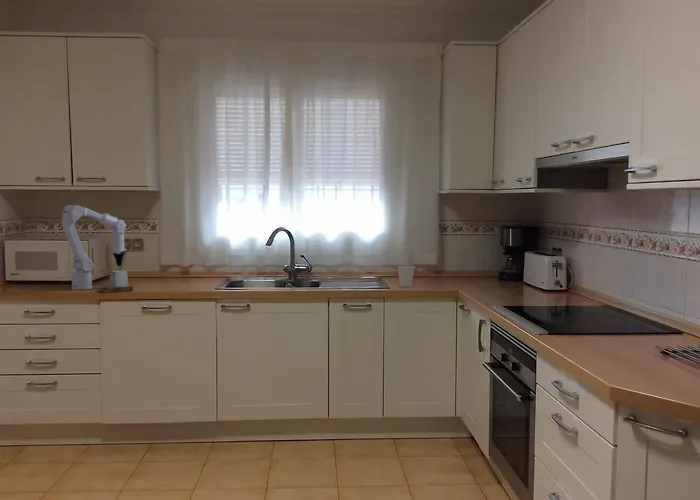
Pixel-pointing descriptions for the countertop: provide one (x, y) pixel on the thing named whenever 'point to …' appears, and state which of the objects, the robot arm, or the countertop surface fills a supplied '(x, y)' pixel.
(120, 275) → the medicine box
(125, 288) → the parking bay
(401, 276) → the cup
